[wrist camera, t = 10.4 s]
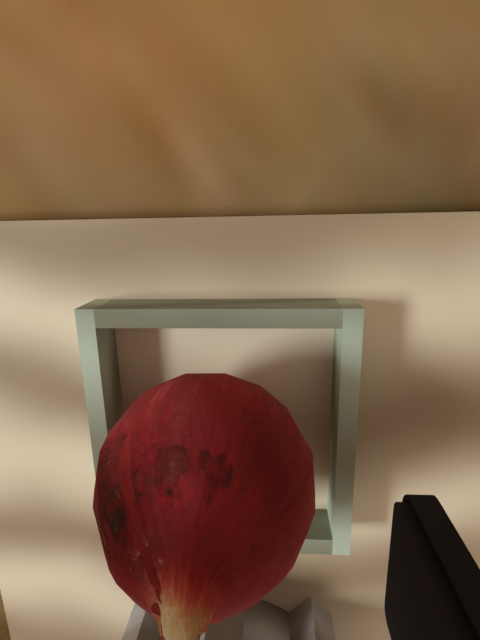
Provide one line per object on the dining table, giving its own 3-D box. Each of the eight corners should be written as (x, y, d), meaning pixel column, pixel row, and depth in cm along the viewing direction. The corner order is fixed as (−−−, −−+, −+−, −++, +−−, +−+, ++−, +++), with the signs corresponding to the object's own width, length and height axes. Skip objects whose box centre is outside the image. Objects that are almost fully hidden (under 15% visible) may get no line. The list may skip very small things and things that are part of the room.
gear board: (-44, 221, 15) (-171, 225, 11) (522, 210, 14) (640, 209, 9) (52, 723, 22) (-3, 851, 17) (440, 754, 20) (487, 903, 16)
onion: (113, 423, 15) (-54, 644, 7) (206, 305, 14) (121, 424, 6) (236, 512, 16) (202, 805, 8) (337, 407, 14) (417, 637, 6)
